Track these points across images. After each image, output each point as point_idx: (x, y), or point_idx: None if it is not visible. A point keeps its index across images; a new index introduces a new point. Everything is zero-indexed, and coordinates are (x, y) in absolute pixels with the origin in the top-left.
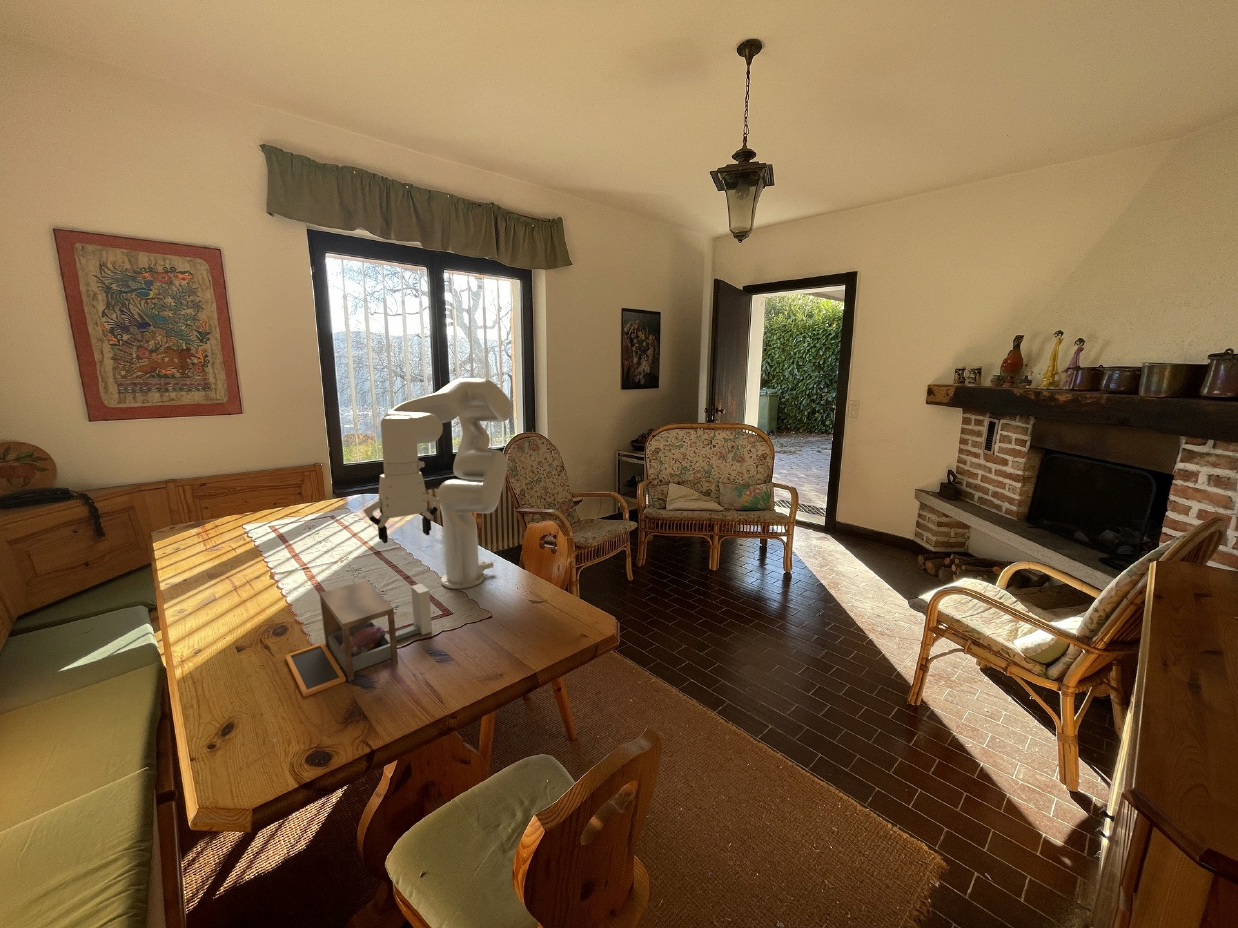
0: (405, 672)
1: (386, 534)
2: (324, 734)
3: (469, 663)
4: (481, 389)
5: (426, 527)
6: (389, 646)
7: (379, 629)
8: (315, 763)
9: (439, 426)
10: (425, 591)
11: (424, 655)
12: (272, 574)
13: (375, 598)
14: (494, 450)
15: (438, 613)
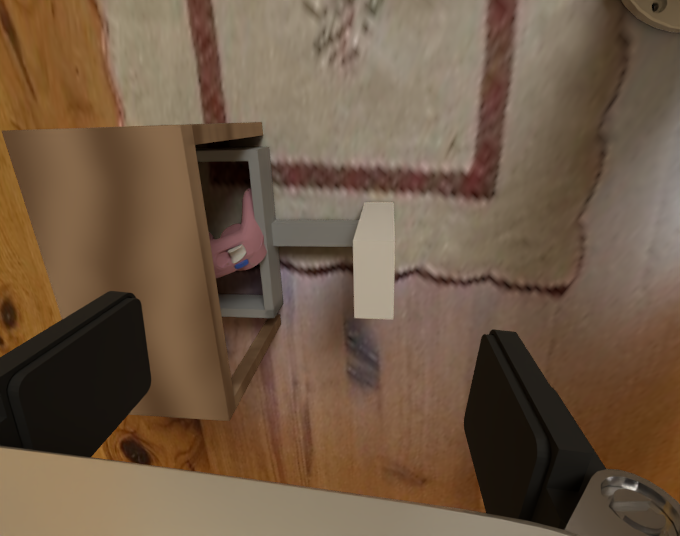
0: (283, 364)
1: (99, 440)
2: (142, 419)
3: (397, 419)
4: None
5: (482, 491)
6: (261, 316)
7: (244, 265)
8: (131, 458)
9: None
10: (378, 318)
11: (336, 336)
12: None
13: (191, 326)
14: None
15: (459, 163)
